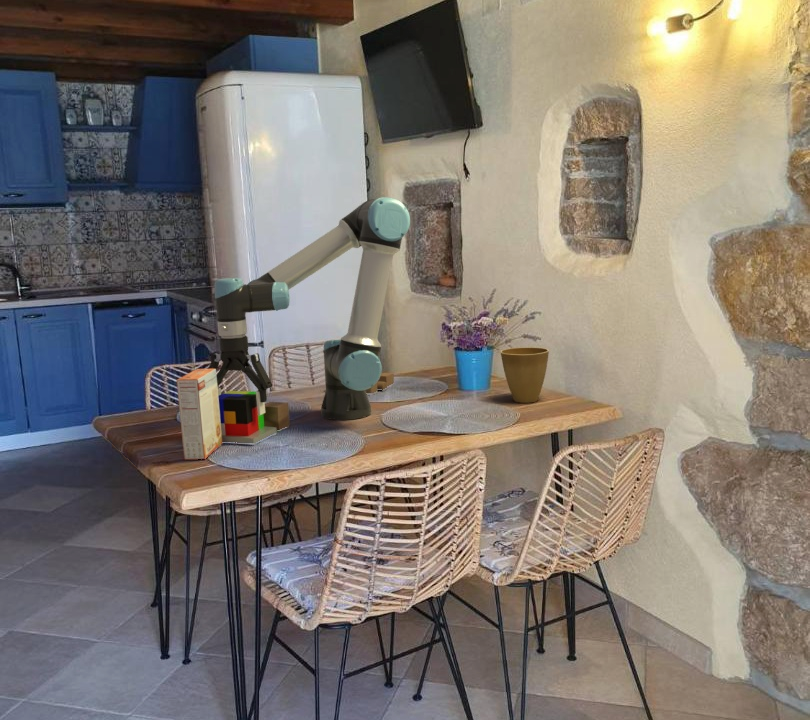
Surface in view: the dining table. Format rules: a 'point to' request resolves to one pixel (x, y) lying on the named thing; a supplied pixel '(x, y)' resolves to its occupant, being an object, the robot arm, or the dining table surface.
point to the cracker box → (199, 413)
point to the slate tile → (251, 436)
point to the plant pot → (525, 372)
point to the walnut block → (276, 415)
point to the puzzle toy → (239, 413)
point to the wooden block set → (382, 382)
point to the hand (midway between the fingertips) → (240, 413)
